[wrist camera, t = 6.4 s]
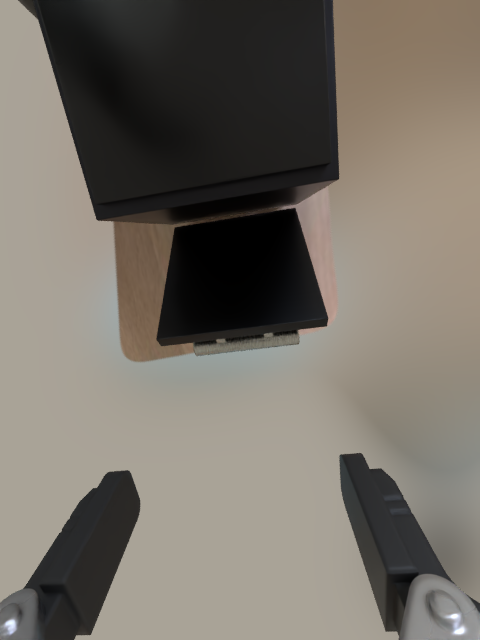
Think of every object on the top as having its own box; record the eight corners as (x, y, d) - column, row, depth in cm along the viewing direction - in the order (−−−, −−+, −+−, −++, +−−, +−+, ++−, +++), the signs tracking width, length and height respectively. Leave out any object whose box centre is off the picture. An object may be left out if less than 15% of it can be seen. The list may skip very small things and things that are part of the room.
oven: (293, 206, 30) (343, 177, 13) (179, 225, 32) (89, 220, 14) (277, 24, 26) (325, -396, 8) (144, 54, 27) (-53, -257, 10)
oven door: (295, 245, 31) (322, 352, 23) (188, 261, 33) (177, 368, 24) (295, 207, 28) (328, 318, 19) (174, 227, 29) (156, 339, 20)
